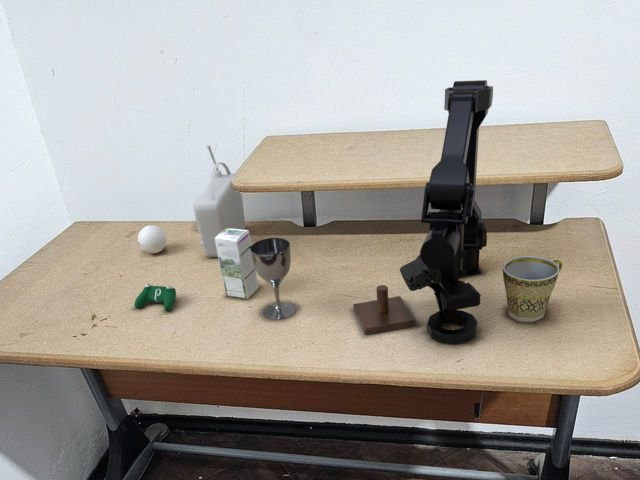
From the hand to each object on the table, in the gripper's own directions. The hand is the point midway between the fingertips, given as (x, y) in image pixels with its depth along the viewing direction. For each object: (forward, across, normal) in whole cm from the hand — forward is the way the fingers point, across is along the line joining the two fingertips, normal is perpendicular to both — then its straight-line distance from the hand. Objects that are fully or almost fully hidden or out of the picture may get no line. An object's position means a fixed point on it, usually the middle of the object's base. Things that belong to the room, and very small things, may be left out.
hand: (445, 317), depth 123 cm
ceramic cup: (+1, +2, +17) cm, 17 cm away
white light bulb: (+1, -57, -60) cm, 83 cm away
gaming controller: (+1, -27, -57) cm, 63 cm away
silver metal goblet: (+1, -15, -31) cm, 35 cm away
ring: (+1, +4, 0) cm, 4 cm away
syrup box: (+1, -26, -38) cm, 46 cm away
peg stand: (+1, -5, -11) cm, 12 cm away
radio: (+1, -55, -40) cm, 68 cm away
